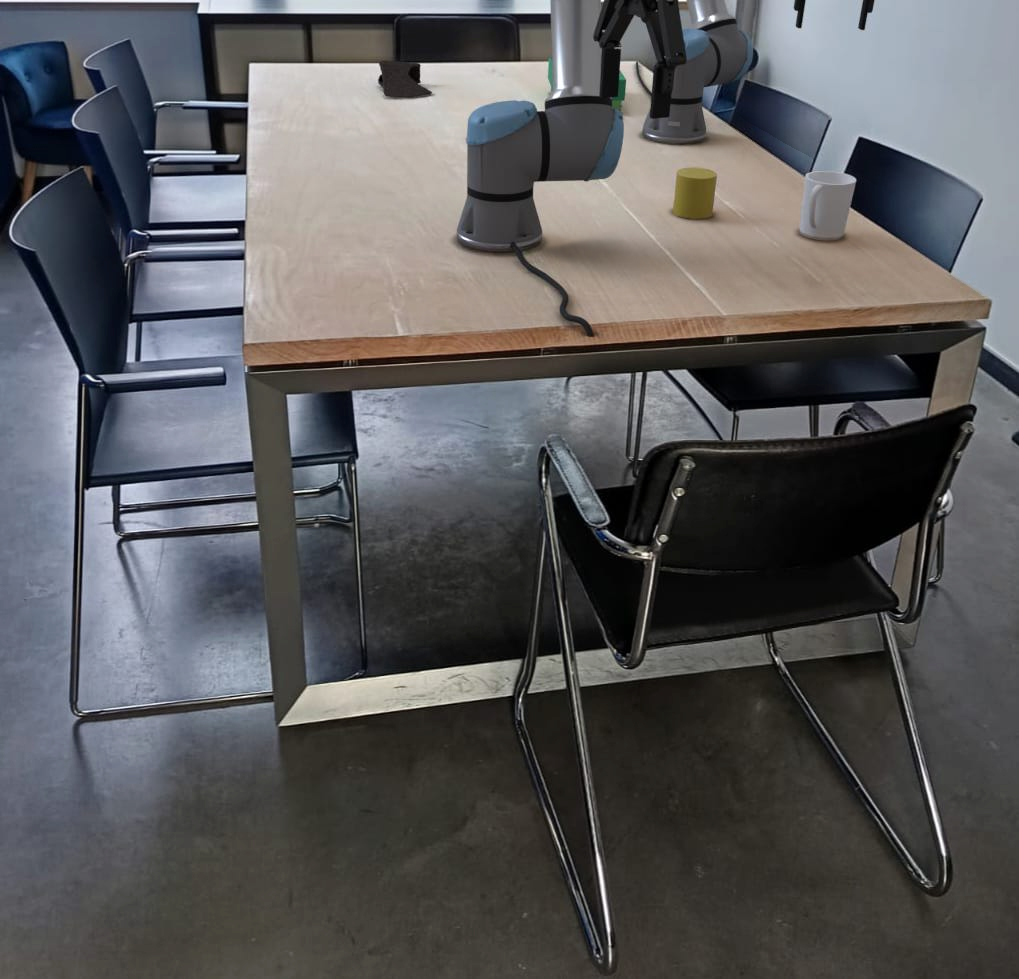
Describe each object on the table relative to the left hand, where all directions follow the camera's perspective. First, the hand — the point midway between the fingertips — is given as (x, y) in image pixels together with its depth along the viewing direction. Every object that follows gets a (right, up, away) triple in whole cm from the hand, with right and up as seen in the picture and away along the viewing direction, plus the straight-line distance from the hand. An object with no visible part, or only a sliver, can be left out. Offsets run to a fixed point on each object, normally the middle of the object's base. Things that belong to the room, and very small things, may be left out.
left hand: (633, 107), depth 154 cm
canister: (+18, 0, +58) cm, 61 cm away
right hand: (+52, +46, +83) cm, 109 cm away
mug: (+40, -7, +48) cm, 62 cm away
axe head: (-47, +56, +146) cm, 163 cm away
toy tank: (+2, +52, +142) cm, 151 cm away
